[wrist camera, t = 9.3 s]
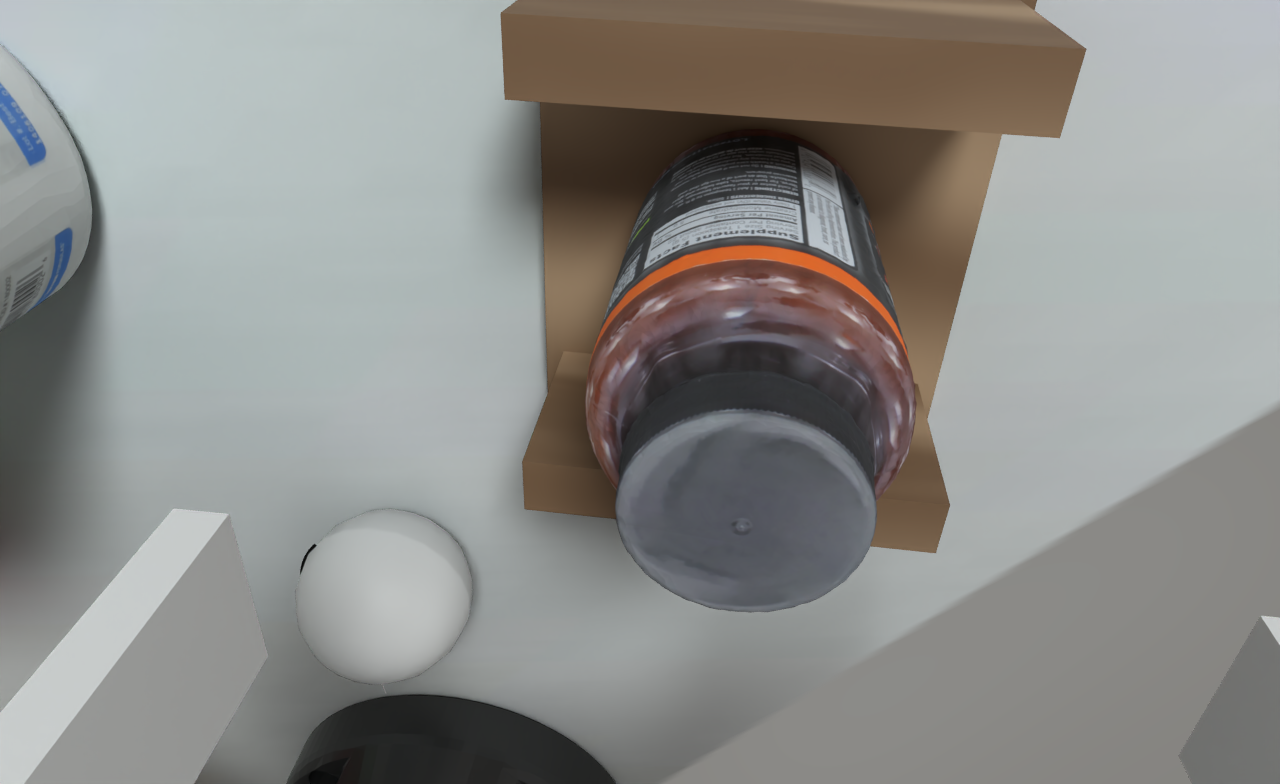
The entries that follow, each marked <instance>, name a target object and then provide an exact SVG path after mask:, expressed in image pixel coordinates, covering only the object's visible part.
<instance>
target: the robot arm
mask: <svg viewBox="0 0 1280 784" xmlns="http://www.w3.org/2000/svg"><path fill="white" fill-rule="evenodd" d="M267 657H268V653H267V649H266V646H265V642H264V638H263V635H262V631H261V628H260V624H259V620H258V617H257V613H256V610H255V606H254V602H253V599H252V595H251V591H250V588H249V584H248V581H247V577H246V573H245V570H244V566H243V563H242V559H241V555H240V552H239V548H238V545H237V541H236V537H235V534H234V530H233V527H232V523H231V519H230V516H229V514H224V513H214V512H204V511H194V510H184V509H173V510H172V511H171V512H170V513H169V514H168V516H167V517H166V518H165V519H164V520H163V521H162V523H161V524H160V525H159V526H158V527H157V529H156V530H155V531H154V532H153V533H152V534H151V536H150V537H149V538H148V539H147V540H146V542H145V543H144V544H143V545H142V546H141V547H140V549H139V550H138V551H137V552H136V553H135V554H134V556H133V557H132V558H131V559H130V560H129V562H128V563H127V564H126V565H125V566H124V567H123V569H122V570H121V571H120V572H119V573H118V575H117V576H116V577H115V578H114V579H113V580H112V582H111V583H110V584H109V585H108V586H107V587H106V589H105V590H104V591H103V592H102V593H101V595H100V596H99V597H98V598H97V599H96V600H95V602H94V603H93V604H92V605H91V606H90V608H89V609H88V610H87V611H86V612H85V613H84V615H83V616H82V617H81V618H80V619H79V621H78V622H77V623H76V624H75V625H74V626H73V628H72V629H71V630H70V631H69V632H68V633H67V635H66V636H65V637H64V638H63V639H62V641H61V642H60V643H59V644H58V645H57V646H56V648H55V649H54V650H53V651H52V652H51V654H50V655H49V656H48V657H47V658H46V659H45V661H44V662H43V663H42V664H41V665H40V666H39V668H38V669H37V670H36V671H35V672H34V674H33V675H32V676H31V677H30V678H29V679H28V681H27V682H26V683H25V684H24V685H23V687H22V688H21V689H20V690H19V691H18V692H17V694H16V695H15V696H14V697H13V698H12V699H11V701H10V702H9V703H8V704H7V705H6V707H5V708H4V709H3V710H2V711H1V712H0V784H194V783H195V781H196V779H197V778H198V776H199V774H200V773H201V771H202V769H203V767H204V766H205V764H206V762H207V761H208V759H209V757H210V755H211V754H212V752H213V750H214V749H215V747H216V745H217V743H218V742H219V740H220V738H221V736H222V735H223V733H224V731H225V730H226V728H227V726H228V724H229V723H230V721H231V719H232V718H233V716H234V714H235V712H236V711H237V709H238V707H239V706H240V704H241V702H242V700H243V699H244V697H245V695H246V693H247V692H248V690H249V688H250V687H251V685H252V683H253V681H254V680H255V678H256V676H257V675H258V673H259V671H260V669H261V668H262V666H263V664H264V663H265V661H266V659H267ZM1179 758H1180V760H1181V762H1182V764H1183V766H1184V768H1185V770H1186V773H1187V775H1188V777H1189V779H1190V781H1191V783H1192V784H1280V618H1277V617H1268V616H1260V618H1259V619H1258V621H1257V623H1256V624H1255V626H1254V628H1253V629H1252V631H1251V633H1250V635H1249V636H1248V638H1247V640H1246V641H1245V643H1244V645H1243V647H1242V648H1241V650H1240V652H1239V653H1238V655H1237V657H1236V658H1235V660H1234V662H1233V664H1232V665H1231V667H1230V669H1229V671H1228V672H1227V674H1226V676H1225V677H1224V679H1223V681H1222V682H1221V684H1220V686H1219V687H1218V689H1217V691H1216V693H1215V694H1214V696H1213V698H1212V699H1211V701H1210V703H1209V704H1208V706H1207V708H1206V710H1205V711H1204V713H1203V715H1202V716H1201V718H1200V720H1199V722H1198V723H1197V725H1196V727H1195V728H1194V730H1193V732H1192V734H1191V735H1190V737H1189V739H1188V740H1187V742H1186V744H1185V745H1184V747H1183V749H1182V751H1181V752H1180V754H1179ZM286 784H616V783H615V782H614V781H613V779H612V778H611V777H610V775H609V774H608V773H607V772H606V771H605V770H604V768H603V767H602V766H601V765H600V764H599V763H598V762H597V761H596V760H595V759H593V758H592V757H591V756H590V755H589V754H588V753H586V752H585V751H584V750H583V749H581V748H580V747H579V746H577V745H576V744H574V743H573V742H571V741H570V740H568V739H567V738H565V737H564V736H562V735H560V734H559V733H557V732H555V731H553V730H551V729H549V728H547V727H546V726H544V725H542V724H539V723H537V722H535V721H533V720H531V719H528V718H526V717H523V716H521V715H518V714H515V713H513V712H510V711H507V710H504V709H500V708H497V707H494V706H490V705H486V704H482V703H478V702H473V701H468V700H463V699H456V698H449V697H439V696H396V697H387V698H381V699H375V700H370V701H366V702H362V703H359V704H356V705H353V706H351V707H348V708H346V709H343V710H341V711H339V712H337V713H335V714H334V715H332V716H331V717H329V718H328V719H326V720H325V721H324V722H322V723H321V724H320V725H319V726H318V727H317V728H316V729H315V730H314V731H313V733H312V734H311V735H310V737H309V738H308V740H307V742H306V744H305V746H304V748H303V750H302V752H301V754H300V756H299V758H298V760H297V762H296V764H295V766H294V768H293V770H292V772H291V774H290V776H289V778H288V781H287V783H286Z"/></svg>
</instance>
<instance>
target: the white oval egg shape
mask: <svg viewBox="0 0 1280 784" xmlns="http://www.w3.org/2000/svg"><path fill="white" fill-rule="evenodd" d="M295 599H296V614H297V621H298V627H299V630H300V632H301V634H302V636H303V637H304V639H305V641H306V643H307V644H308V646H309V648H310V649H311V651H312V652H313V654H314V656H315V657H316V658H317V659H318V660H319V661H320V662H321V663H322V664H323V665H324V666H325V667H326V668H328V669H329V670H331V671H333V672H334V673H336V674H337V675H339V676H341V677H344V678H346V679H349V680H352V681H354V682H359V683H365V684H371V685H372V684H382V686H383V689H384V691H385V688H384V685H383V684H388V683H393V682H398V681H403V680H406V679H409V678H412V677H416V676H419V675H420V674H422V673H423V672H424V671H426V670H427V669H428V668H430V667H431V666H432V665H434V664H435V663H436V662H438V661H439V660H440V659H442V658H443V657H444V656H445V655H447V654H448V653H449V652H450V651H451V649H452V647H453V646H454V644H455V643H456V641H457V639H458V638H459V636H460V634H461V633H462V631H463V629H464V627H465V625H466V623H467V621H468V619H469V614H470V608H471V602H472V577H471V574H470V571H469V567H468V564H467V561H466V559H465V556H464V554H463V551H462V549H461V547H460V546H459V545H458V543H457V542H456V541H455V540H454V539H453V537H452V536H451V535H450V534H449V533H448V532H447V531H445V530H444V529H443V528H441V527H440V526H438V525H437V524H436V523H434V522H433V521H431V520H430V519H427V518H425V517H423V516H420V515H418V514H415V513H412V512H407V511H401V510H394V509H382V510H371V511H368V512H366V513H363V514H361V515H359V516H356V517H354V518H352V519H349V520H347V521H345V522H342V523H340V524H338V525H336V526H335V527H334V528H333V529H332V530H331V531H330V532H329V533H328V534H327V535H326V536H325V537H324V538H323V539H322V540H321V541H320V542H319V543H318V544H317V545H315V544H314V545H313V546H312V547H311V548H310V549H309V550H308V552H307V553H306V555H305V556H304V559H303V561H302V565H301V570H300V578H299V581H298V584H297V587H296V590H295ZM385 694H386V691H385Z"/></svg>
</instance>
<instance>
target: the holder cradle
mask: <svg viewBox="0 0 1280 784" xmlns="http://www.w3.org/2000/svg"><path fill="white" fill-rule="evenodd" d="M1036 2H1037V0H517V1H516V2H515V3H513V4H512V5H511V6H509V7H508V8H507V9H505V10H504V11H503V12H501V31H502V52H503V72H504V93H505V100H520V101H534V102H540V122H541V159H542V196H543V233H544V271H545V308H546V345H547V382H548V394H547V397H546V400H545V402H544V405H543V408H542V410H541V413H540V416H539V418H538V421H537V424H536V426H535V429H534V432H533V434H532V437H531V440H530V442H529V445H528V448H527V450H526V453H525V456H524V458H523V461H522V465H523V486H524V507H525V509H527V510H536V511H546V512H555V513H564V514H574V515H583V516H592V517H602V518H611V519H616V512H615V501H616V489H615V487H614V486H613V485H612V484H611V482H610V481H609V479H608V477H607V476H606V474H605V473H604V471H603V469H602V467H601V465H600V463H599V461H598V459H597V457H596V455H595V453H594V451H593V448H592V445H591V441H590V439H589V435H588V431H587V426H586V415H585V394H586V383H587V376H588V369H589V365H590V361H591V357H592V354H593V351H594V348H595V344H596V340H597V337H598V335H599V333H600V329H601V326H602V323H603V320H604V317H605V314H606V311H607V308H608V305H609V301H610V298H611V294H612V291H613V287H614V284H615V282H616V279H617V276H618V273H619V270H620V267H621V264H622V261H623V258H624V255H625V252H626V249H627V246H628V243H629V240H630V237H631V233H632V231H633V227H634V224H635V222H636V219H637V216H638V213H639V210H640V208H641V206H642V204H643V201H644V200H645V198H646V196H647V194H648V192H649V190H650V188H651V187H652V185H653V183H654V182H655V180H656V179H657V178H658V177H659V175H660V174H661V173H662V172H663V170H664V169H665V168H666V167H667V166H668V165H669V164H670V163H671V162H672V161H673V160H674V159H675V158H676V157H677V156H678V155H680V154H681V153H682V152H684V151H685V150H687V149H689V148H690V147H692V146H693V145H695V144H697V143H699V142H702V141H704V140H706V139H708V138H711V137H714V136H717V135H719V134H722V133H726V132H731V131H738V130H745V129H765V130H773V131H779V132H785V133H788V134H791V135H795V136H797V137H799V138H801V139H804V140H806V141H808V142H810V143H813V144H814V145H816V146H817V147H819V148H820V149H822V150H823V151H825V152H826V153H828V154H829V155H830V156H831V157H833V158H834V159H836V160H837V161H838V163H839V164H840V165H841V166H842V167H843V168H844V169H845V170H846V171H847V172H848V173H849V175H850V176H851V178H852V180H853V182H854V183H855V185H856V187H857V189H858V191H859V192H860V194H861V196H862V197H863V199H864V202H865V204H866V207H867V210H868V212H869V215H870V220H871V223H872V226H873V228H874V231H875V238H876V242H877V245H878V248H879V251H880V255H881V260H882V264H883V266H884V269H885V274H886V278H887V281H888V284H889V289H890V292H891V295H892V299H893V303H894V308H895V311H896V314H897V318H898V322H899V325H900V328H901V332H902V336H903V340H904V342H905V344H906V346H907V350H908V359H909V363H910V366H911V370H912V373H913V380H914V383H915V398H916V402H917V405H916V412H915V413H916V418H915V426H914V433H913V436H912V440H911V444H910V449H909V453H908V455H907V457H906V459H905V461H904V463H903V465H902V466H901V469H900V472H899V474H898V475H897V477H896V479H895V480H894V481H893V482H892V484H891V485H890V487H889V488H888V489H887V490H886V491H885V492H884V493H883V495H881V496H880V498H879V499H878V500H877V501H876V507H877V522H876V527H875V533H874V536H873V540H872V542H871V545H870V546H873V547H882V548H892V549H901V550H911V551H920V552H929V553H936V550H937V547H938V544H939V540H940V537H941V534H942V530H943V527H944V524H945V520H946V517H947V514H948V510H949V507H950V503H949V500H948V496H947V492H946V488H945V485H944V481H943V477H942V473H941V470H940V466H939V462H938V458H937V454H936V451H935V447H934V443H933V439H932V436H931V432H930V428H929V424H928V421H927V418H928V414H929V410H930V407H931V403H932V399H933V395H934V391H935V388H936V384H937V380H938V376H939V372H940V368H941V365H942V361H943V357H944V353H945V349H946V346H947V342H948V338H949V334H950V330H951V326H952V323H953V319H954V315H955V311H956V307H957V304H958V300H959V296H960V292H961V288H962V284H963V281H964V277H965V273H966V269H967V265H968V262H969V258H970V254H971V250H972V246H973V242H974V239H975V235H976V231H977V227H978V223H979V220H980V216H981V212H982V208H983V204H984V200H985V197H986V193H987V189H988V185H989V181H990V178H991V174H992V170H993V166H994V162H995V158H996V155H997V151H998V147H999V143H1000V139H1001V136H1002V134H1009V135H1024V136H1038V137H1053V138H1060V136H1061V132H1062V129H1063V126H1064V122H1065V119H1066V115H1067V112H1068V109H1069V105H1070V102H1071V99H1072V95H1073V92H1074V89H1075V85H1076V82H1077V79H1078V75H1079V72H1080V69H1081V65H1082V62H1083V59H1084V55H1085V52H1086V48H1084V47H1083V46H1082V45H1080V44H1079V43H1077V42H1076V41H1075V40H1073V39H1072V38H1071V37H1069V36H1068V35H1067V34H1065V33H1064V32H1063V31H1061V30H1060V29H1059V28H1057V27H1056V26H1054V25H1053V24H1052V23H1050V22H1049V21H1048V20H1046V19H1045V18H1044V17H1042V16H1041V15H1040V14H1038V13H1037V12H1036V11H1034V10H1035V6H1036Z"/></svg>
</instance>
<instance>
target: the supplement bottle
mask: <svg viewBox="0 0 1280 784" xmlns="http://www.w3.org/2000/svg"><path fill="white" fill-rule="evenodd" d="M916 405H917V402H916V398H915V383H914V380H913V373H912V370H911V366H910V363H909V359H908V350H907V346H906V344H905V342H904V340H903V336H902V332H901V328H900V325H899V322H898V318H897V314H896V311H895V308H894V303H893V299H892V295H891V292H890V289H889V284H888V281H887V278H886V274H885V269H884V266H883V264H882V260H881V255H880V251H879V248H878V245H877V242H876V238H875V231H874V228H873V226H872V223H871V220H870V215H869V212H868V210H867V207H866V204H865V202H864V199H863V197H862V196H861V194H860V192H859V191H858V189H857V187H856V185H855V183H854V182H853V180H852V178H851V176H850V175H849V173H848V172H847V171H846V170H845V169H844V168H843V167H842V166H841V165H840V164H839V163H838V161H837V160H836V159H834V158H833V157H831V156H830V155H829V154H828V153H826V152H825V151H823V150H822V149H820V148H819V147H817V146H816V145H814V144H813V143H810V142H808V141H806V140H804V139H801V138H799V137H797V136H795V135H791V134H788V133H785V132H779V131H773V130H765V129H745V130H738V131H731V132H726V133H722V134H719V135H717V136H714V137H711V138H708V139H706V140H704V141H702V142H699V143H697V144H695V145H693V146H692V147H690V148H689V149H687V150H685V151H684V152H682V153H681V154H680V155H678V156H677V157H676V158H675V159H674V160H673V161H672V162H671V163H670V164H669V165H668V166H667V167H666V168H665V169H664V170H663V172H662V173H661V174H660V175H659V177H658V178H657V179H656V180H655V182H654V183H653V185H652V187H651V188H650V190H649V192H648V194H647V196H646V198H645V200H644V201H643V204H642V206H641V208H640V210H639V213H638V216H637V219H636V222H635V224H634V227H633V231H632V233H631V237H630V240H629V243H628V246H627V249H626V252H625V255H624V258H623V261H622V264H621V267H620V270H619V273H618V276H617V279H616V282H615V284H614V287H613V291H612V294H611V298H610V301H609V305H608V308H607V311H606V314H605V317H604V320H603V323H602V326H601V329H600V333H599V335H598V337H597V340H596V344H595V348H594V351H593V354H592V357H591V361H590V365H589V369H588V376H587V383H586V394H585V415H586V426H587V431H588V435H589V439H590V441H591V445H592V448H593V451H594V453H595V455H596V457H597V459H598V461H599V463H600V465H601V467H602V469H603V471H604V473H605V474H606V476H607V477H608V479H609V481H610V482H611V484H612V485H613V486H614V487H615V489H616V501H615V512H616V520H617V525H618V530H619V533H620V536H621V539H622V542H623V544H624V546H625V548H626V550H627V551H628V553H629V554H630V555H631V556H632V558H633V559H634V561H635V562H636V563H637V564H638V565H639V566H640V567H641V569H642V570H643V571H644V572H645V574H647V575H648V576H649V577H650V578H652V579H653V580H654V581H656V582H657V583H658V584H660V585H661V586H662V587H664V588H665V589H668V590H669V591H671V592H672V593H674V594H676V595H678V596H680V597H682V598H684V599H686V600H688V601H692V602H695V603H698V604H701V605H703V606H706V607H709V608H713V609H720V610H727V611H738V612H770V611H776V610H781V609H786V608H792V607H795V606H798V605H800V604H805V603H808V602H811V601H813V600H816V599H818V598H819V597H821V596H823V595H825V594H826V593H828V592H830V591H831V590H833V589H834V588H836V587H837V586H838V585H840V584H841V583H843V582H844V581H845V580H846V579H847V578H848V577H849V576H850V574H851V573H852V572H853V571H854V570H855V569H856V568H857V567H858V566H859V564H860V563H861V562H862V561H863V559H864V557H865V555H866V553H867V551H868V550H869V548H870V545H871V542H872V540H873V536H874V533H875V527H876V522H877V507H876V501H877V500H878V499H879V498H880V496H881V495H883V493H884V492H885V491H886V490H887V489H888V488H889V487H890V485H891V484H892V482H893V481H894V480H895V479H896V477H897V475H898V474H899V472H900V469H901V466H902V465H903V463H904V461H905V459H906V457H907V455H908V453H909V449H910V444H911V440H912V436H913V433H914V426H915V418H916V413H915V412H916Z"/></svg>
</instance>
